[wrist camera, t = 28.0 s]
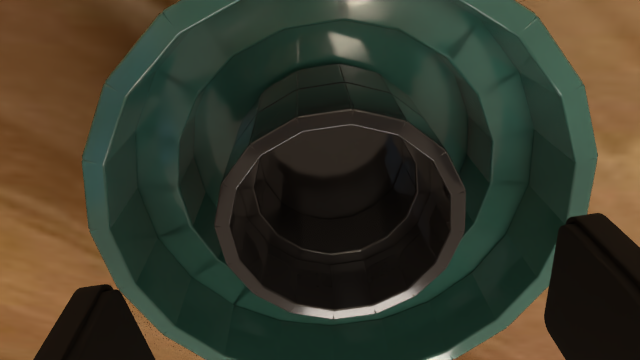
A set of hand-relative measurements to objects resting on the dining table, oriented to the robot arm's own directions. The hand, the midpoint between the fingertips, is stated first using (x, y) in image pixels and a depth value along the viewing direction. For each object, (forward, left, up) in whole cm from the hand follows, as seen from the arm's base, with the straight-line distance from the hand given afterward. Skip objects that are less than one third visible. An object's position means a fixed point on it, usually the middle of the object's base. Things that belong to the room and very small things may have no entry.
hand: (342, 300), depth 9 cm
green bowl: (0, 0, -9) cm, 9 cm away
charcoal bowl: (0, 0, -8) cm, 8 cm away
